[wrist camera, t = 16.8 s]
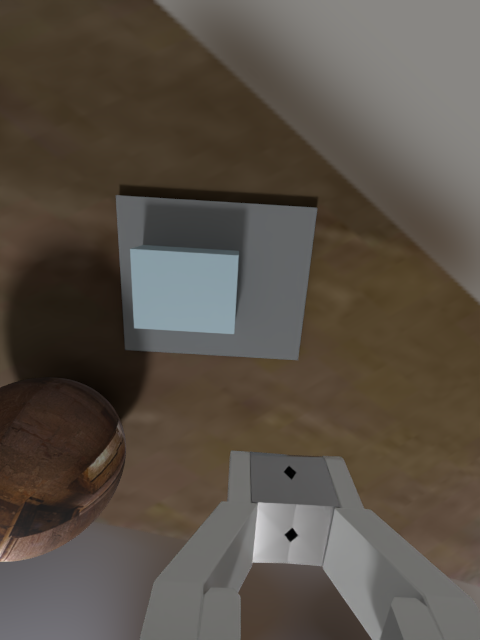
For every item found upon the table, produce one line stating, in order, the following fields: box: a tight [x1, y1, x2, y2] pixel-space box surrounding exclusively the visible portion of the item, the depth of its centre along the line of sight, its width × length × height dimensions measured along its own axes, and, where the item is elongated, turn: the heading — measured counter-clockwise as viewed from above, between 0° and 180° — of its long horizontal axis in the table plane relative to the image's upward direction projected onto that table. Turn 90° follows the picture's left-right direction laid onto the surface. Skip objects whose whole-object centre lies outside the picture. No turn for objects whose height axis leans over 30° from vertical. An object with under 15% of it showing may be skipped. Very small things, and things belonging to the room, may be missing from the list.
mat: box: [116, 195, 317, 360], centre depth 31 cm, size 18×15×1 cm
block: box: [130, 245, 239, 334], centre depth 29 cm, size 4×7×9 cm
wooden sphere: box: [0, 377, 126, 562], centre depth 29 cm, size 15×15×15 cm
